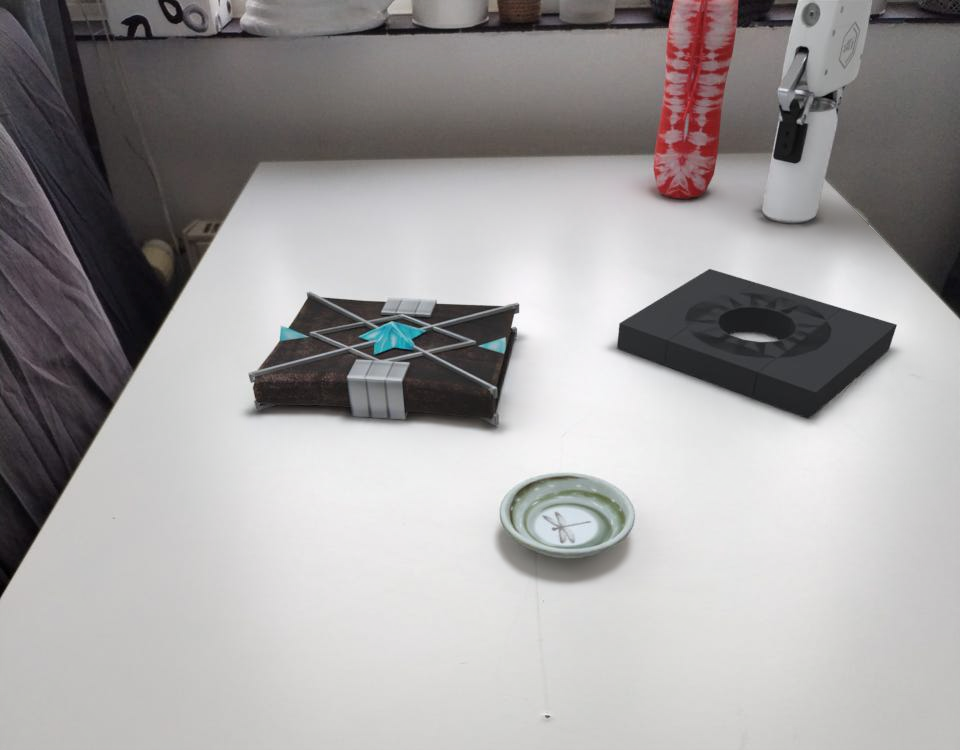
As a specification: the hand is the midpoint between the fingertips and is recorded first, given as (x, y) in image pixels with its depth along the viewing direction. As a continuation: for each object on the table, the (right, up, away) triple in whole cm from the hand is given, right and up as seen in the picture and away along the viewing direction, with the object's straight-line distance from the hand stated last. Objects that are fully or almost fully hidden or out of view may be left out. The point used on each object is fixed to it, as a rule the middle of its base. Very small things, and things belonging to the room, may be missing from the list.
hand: (801, 151), depth 104 cm
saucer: (-31, -49, -38) cm, 70 cm away
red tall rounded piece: (-11, +2, +12) cm, 17 cm away
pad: (-12, -29, -19) cm, 36 cm away
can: (0, -5, +5) cm, 7 cm away
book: (-45, -32, -20) cm, 59 cm away
